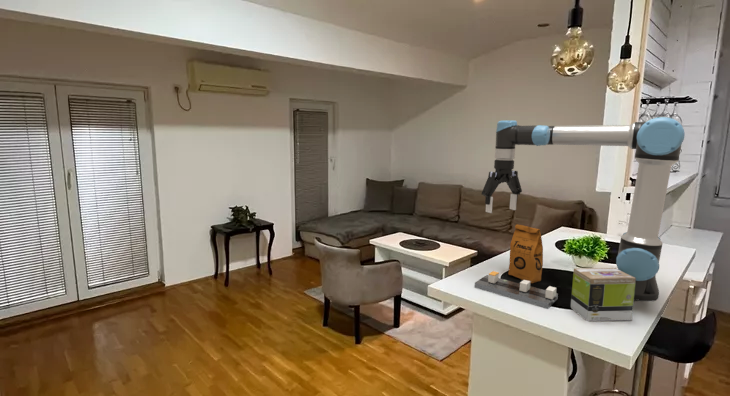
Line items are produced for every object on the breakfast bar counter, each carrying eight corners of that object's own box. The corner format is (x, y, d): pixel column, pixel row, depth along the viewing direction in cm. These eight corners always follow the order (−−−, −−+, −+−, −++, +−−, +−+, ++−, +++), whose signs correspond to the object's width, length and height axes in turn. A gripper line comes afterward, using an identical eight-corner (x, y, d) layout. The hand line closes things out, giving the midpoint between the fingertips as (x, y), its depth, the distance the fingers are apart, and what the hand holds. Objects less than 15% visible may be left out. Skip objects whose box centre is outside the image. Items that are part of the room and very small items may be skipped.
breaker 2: (529, 288, 144) (530, 281, 143) (526, 292, 141) (526, 284, 140) (523, 287, 145) (523, 279, 145) (519, 290, 142) (520, 282, 142)
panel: (560, 299, 140) (560, 294, 140) (551, 309, 132) (551, 303, 132) (486, 279, 158) (486, 274, 158) (474, 287, 150) (474, 282, 150)
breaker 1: (498, 280, 151) (498, 272, 151) (494, 283, 148) (494, 275, 148) (492, 279, 153) (492, 271, 152) (488, 281, 150) (488, 273, 149)
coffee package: (530, 285, 153) (535, 231, 149) (504, 275, 163) (508, 224, 159) (545, 280, 158) (550, 228, 154) (519, 271, 168) (523, 222, 165)
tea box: (611, 307, 134) (616, 266, 132) (632, 321, 125) (638, 278, 122) (568, 307, 134) (573, 266, 131) (586, 321, 124) (591, 278, 121)
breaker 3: (555, 295, 138) (556, 287, 137) (552, 299, 135) (553, 291, 134) (548, 294, 139) (549, 286, 139) (545, 297, 136) (545, 289, 136)
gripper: (518, 158, 165) (515, 206, 169) (474, 159, 154) (471, 211, 157) (533, 159, 159) (529, 209, 162) (488, 160, 147) (484, 215, 151)
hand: (500, 211), depth 160 cm, fingers open, 13 cm apart
